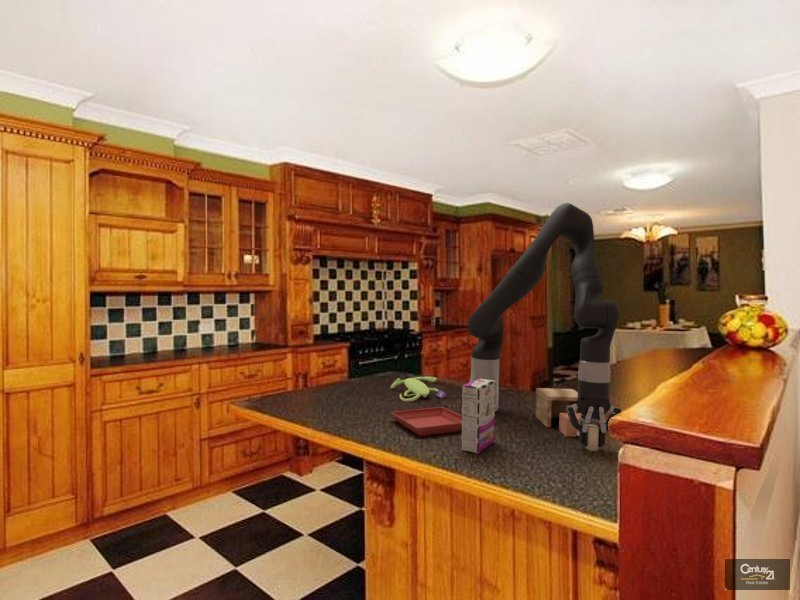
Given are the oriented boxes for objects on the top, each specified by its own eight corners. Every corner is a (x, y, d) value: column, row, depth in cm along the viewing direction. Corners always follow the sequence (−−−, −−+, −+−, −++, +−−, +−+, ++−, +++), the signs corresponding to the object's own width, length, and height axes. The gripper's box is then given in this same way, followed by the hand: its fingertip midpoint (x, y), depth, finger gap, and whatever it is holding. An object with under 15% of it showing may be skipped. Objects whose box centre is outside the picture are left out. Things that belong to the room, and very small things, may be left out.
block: (581, 451, 118) (582, 427, 118) (559, 430, 136) (559, 409, 136) (605, 452, 118) (606, 428, 118) (579, 430, 136) (580, 410, 136)
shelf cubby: (546, 427, 139) (547, 396, 139) (535, 416, 151) (536, 388, 151) (585, 428, 139) (586, 397, 139) (571, 417, 151) (572, 389, 151)
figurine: (432, 387, 195) (433, 373, 195) (452, 402, 169) (452, 386, 169) (388, 387, 191) (389, 373, 191) (401, 403, 165) (401, 387, 165)
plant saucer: (390, 422, 142) (390, 411, 142) (442, 416, 149) (442, 406, 149) (416, 440, 125) (417, 427, 125) (474, 433, 133) (474, 421, 133)
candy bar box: (477, 438, 126) (478, 377, 126) (494, 442, 124) (496, 380, 123) (459, 450, 117) (461, 384, 116) (478, 454, 114) (480, 387, 114)
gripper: (571, 380, 116) (569, 450, 116) (629, 382, 116) (626, 452, 116) (561, 375, 123) (559, 440, 124) (615, 376, 123) (613, 442, 124)
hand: (591, 445), depth 120 cm, fingers open, 3 cm apart
